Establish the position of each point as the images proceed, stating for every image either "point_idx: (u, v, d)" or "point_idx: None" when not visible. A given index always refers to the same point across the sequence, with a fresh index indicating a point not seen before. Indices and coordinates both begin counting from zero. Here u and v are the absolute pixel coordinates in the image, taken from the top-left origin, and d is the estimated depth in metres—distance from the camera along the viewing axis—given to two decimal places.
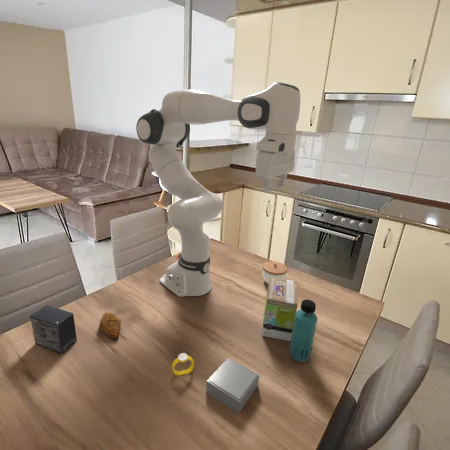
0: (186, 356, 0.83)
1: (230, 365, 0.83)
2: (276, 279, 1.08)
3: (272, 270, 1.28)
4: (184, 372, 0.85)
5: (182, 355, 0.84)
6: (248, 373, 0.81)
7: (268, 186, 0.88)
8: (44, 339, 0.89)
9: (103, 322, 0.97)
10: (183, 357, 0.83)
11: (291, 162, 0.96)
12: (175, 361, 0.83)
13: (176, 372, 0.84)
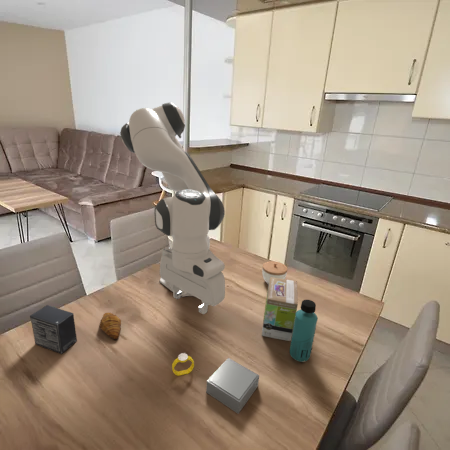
0: (186, 356, 0.83)
1: (230, 365, 0.83)
2: (276, 279, 1.08)
3: (272, 270, 1.28)
4: (184, 372, 0.85)
5: (182, 355, 0.84)
6: (248, 373, 0.81)
7: (207, 305, 0.76)
8: (44, 339, 0.89)
9: (103, 322, 0.97)
10: (183, 357, 0.83)
11: None
12: (175, 361, 0.83)
13: (176, 372, 0.84)
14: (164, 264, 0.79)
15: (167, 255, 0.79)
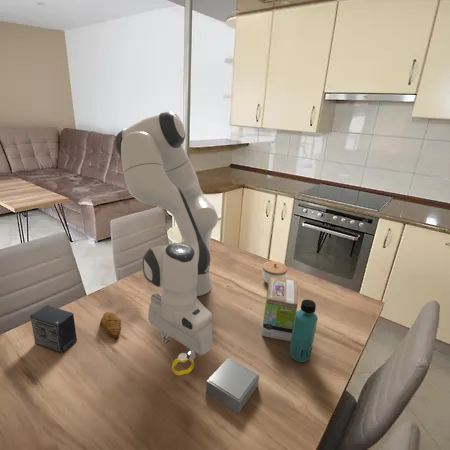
0: (186, 356, 0.83)
1: (230, 365, 0.83)
2: (276, 279, 1.08)
3: (272, 270, 1.28)
4: (184, 372, 0.85)
5: (182, 355, 0.84)
6: (248, 373, 0.81)
7: (195, 352, 0.79)
8: (44, 339, 0.89)
9: (103, 322, 0.97)
10: (183, 357, 0.83)
11: None
12: (175, 361, 0.83)
13: (176, 372, 0.84)
14: (153, 310, 0.81)
15: (156, 302, 0.81)
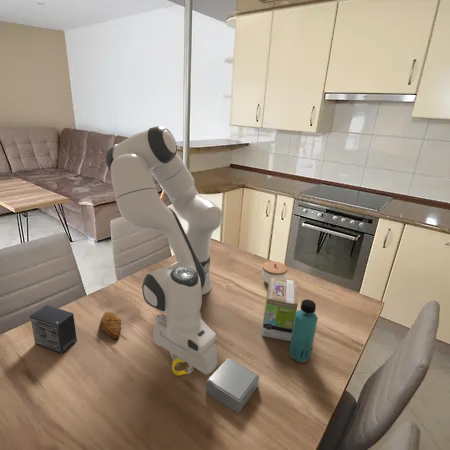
0: None
1: (230, 365, 0.83)
2: (276, 279, 1.08)
3: (272, 270, 1.28)
4: (184, 372, 0.85)
5: None
6: (248, 373, 0.81)
7: (193, 366, 0.83)
8: (44, 339, 0.89)
9: (103, 321, 0.97)
10: None
11: None
12: (175, 361, 0.83)
13: (176, 372, 0.84)
14: (158, 331, 0.84)
15: (161, 323, 0.83)
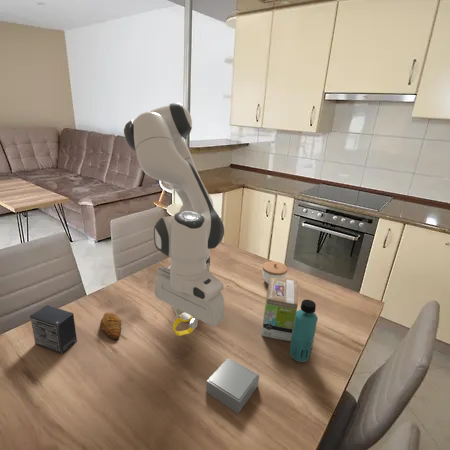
0: (189, 315, 0.78)
1: (230, 365, 0.83)
2: (276, 279, 1.08)
3: (272, 270, 1.28)
4: (185, 332, 0.80)
5: (185, 314, 0.79)
6: (248, 373, 0.81)
7: (197, 320, 0.78)
8: (44, 339, 0.89)
9: (104, 322, 0.98)
10: (186, 317, 0.78)
11: None
12: (177, 321, 0.78)
13: (177, 332, 0.79)
14: (160, 284, 0.78)
15: (163, 275, 0.78)
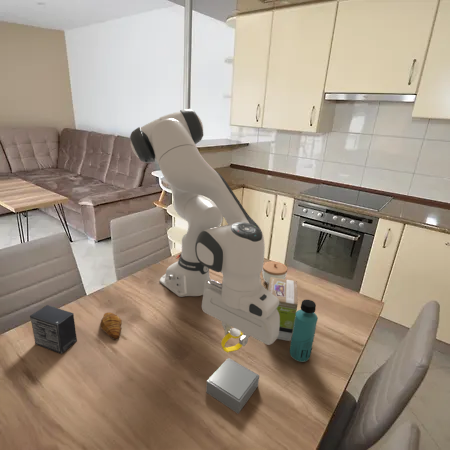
0: (238, 331, 0.74)
1: (230, 365, 0.83)
2: (276, 279, 1.08)
3: (272, 270, 1.28)
4: (233, 348, 0.76)
5: (234, 330, 0.75)
6: (248, 373, 0.81)
7: None
8: (44, 339, 0.89)
9: (104, 322, 0.98)
10: (235, 333, 0.74)
11: None
12: (226, 337, 0.74)
13: (225, 349, 0.75)
14: (209, 298, 0.74)
15: (212, 289, 0.74)
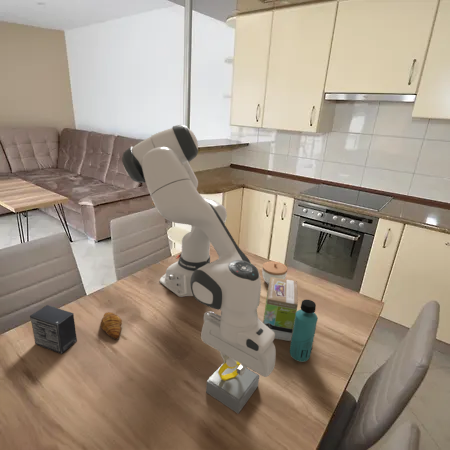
0: (235, 361, 0.77)
1: None
2: (276, 279, 1.08)
3: (272, 270, 1.28)
4: (230, 376, 0.80)
5: (230, 360, 0.77)
6: (248, 373, 0.81)
7: None
8: (44, 339, 0.89)
9: (104, 322, 0.98)
10: (232, 363, 0.77)
11: None
12: (223, 367, 0.77)
13: (222, 377, 0.78)
14: (208, 329, 0.78)
15: (211, 321, 0.77)
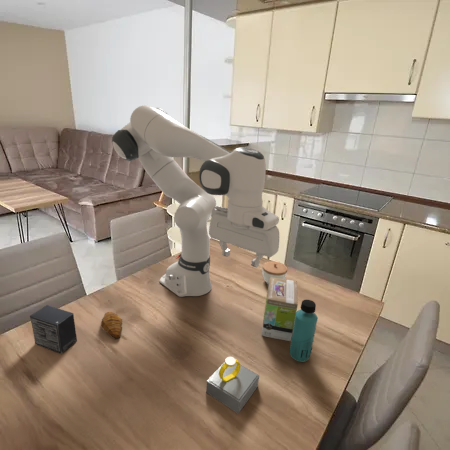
0: (233, 359, 0.78)
1: None
2: (276, 279, 1.08)
3: (272, 270, 1.28)
4: (230, 377, 0.79)
5: (229, 359, 0.78)
6: (248, 373, 0.81)
7: None
8: (44, 339, 0.89)
9: (105, 321, 0.98)
10: (231, 361, 0.77)
11: None
12: (223, 367, 0.77)
13: (223, 378, 0.78)
14: (215, 222, 0.83)
15: (219, 214, 0.82)
